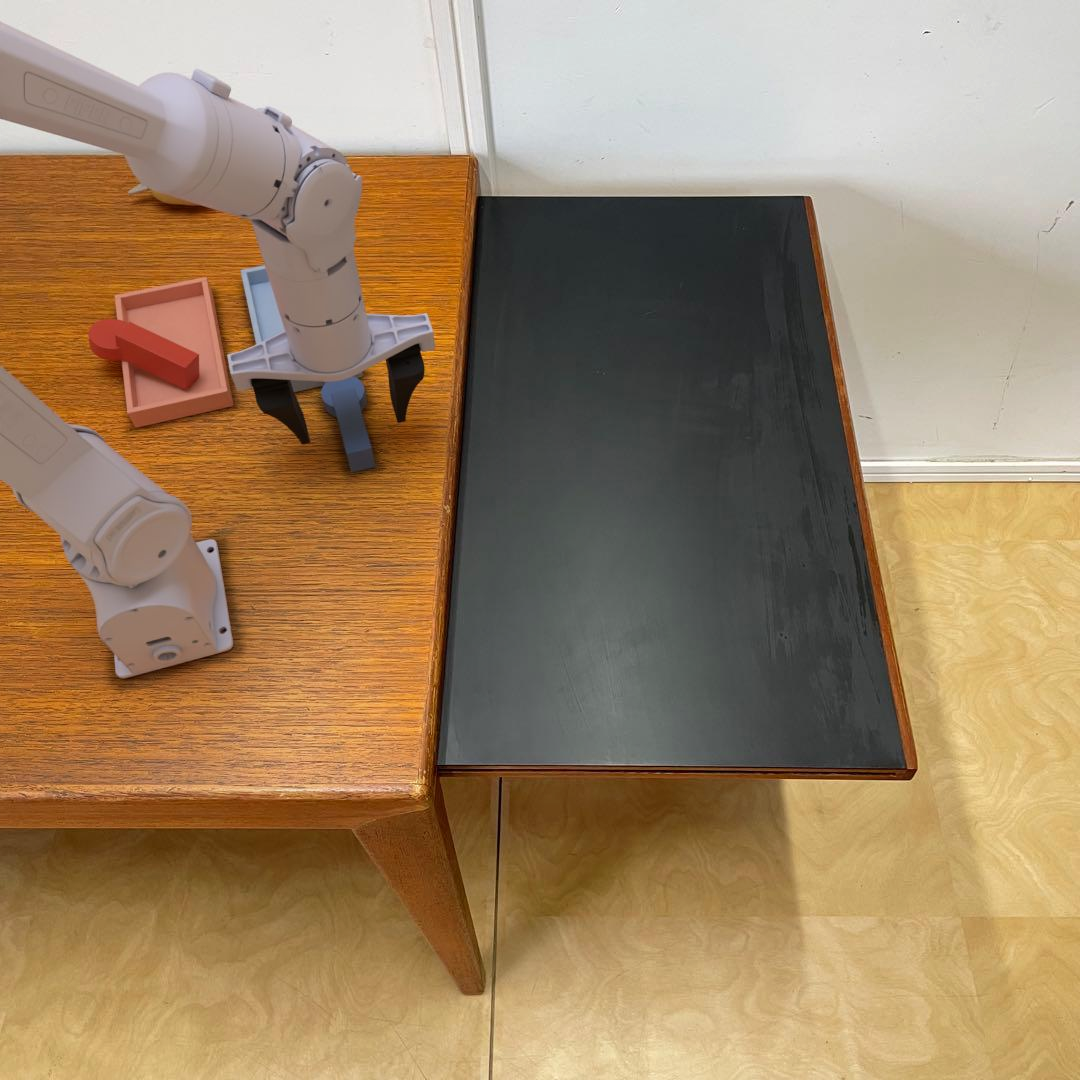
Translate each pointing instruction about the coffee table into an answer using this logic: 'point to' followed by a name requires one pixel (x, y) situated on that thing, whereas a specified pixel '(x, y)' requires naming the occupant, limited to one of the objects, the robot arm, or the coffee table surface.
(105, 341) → the red spoon
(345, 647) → the coffee table surface
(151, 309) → the rose tray
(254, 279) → the blue tray
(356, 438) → the blue spoon
